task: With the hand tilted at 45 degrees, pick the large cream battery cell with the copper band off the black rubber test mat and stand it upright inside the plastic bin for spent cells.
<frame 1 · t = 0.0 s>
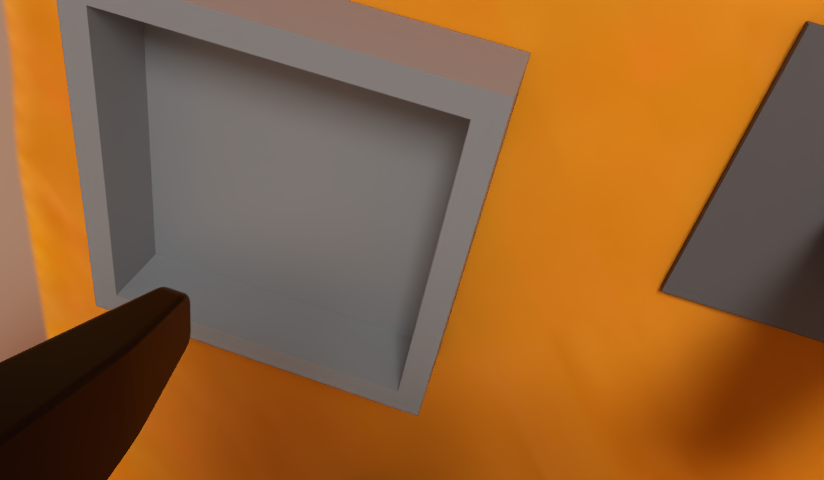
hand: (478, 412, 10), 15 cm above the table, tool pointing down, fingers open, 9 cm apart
bin: (301, 173, 27), on the table
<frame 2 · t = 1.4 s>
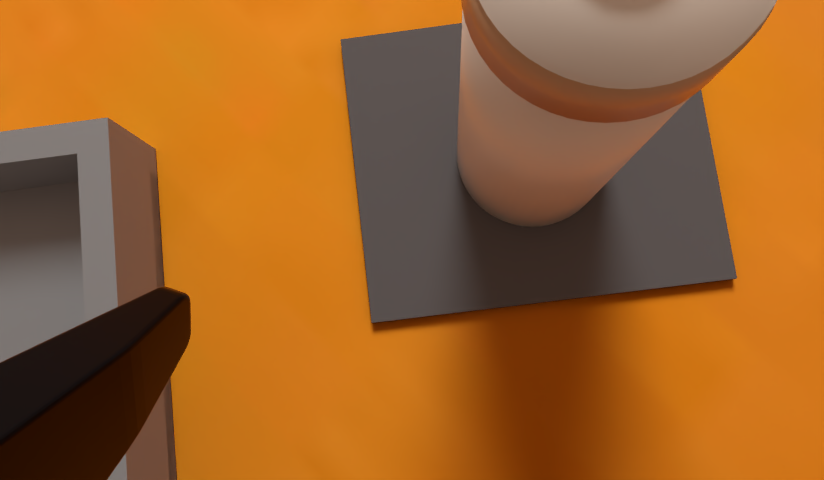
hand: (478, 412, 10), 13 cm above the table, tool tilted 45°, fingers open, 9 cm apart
cell: (530, 154, 24), resting on test mat
test mat: (529, 156, 24), on the table
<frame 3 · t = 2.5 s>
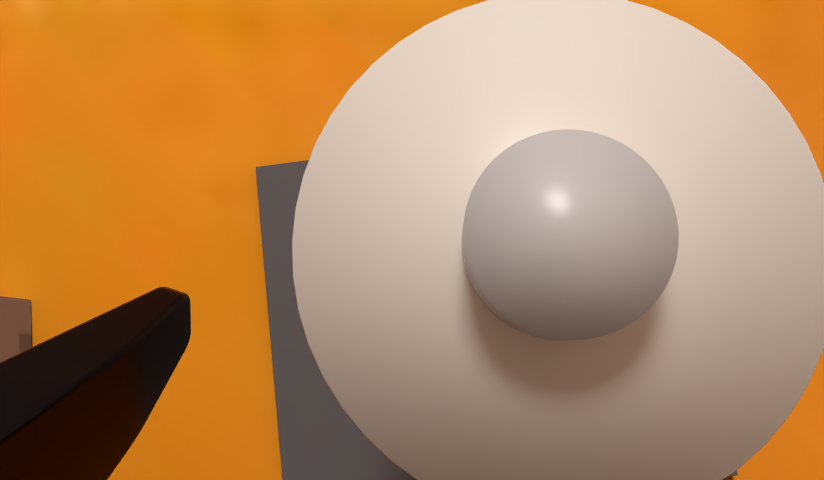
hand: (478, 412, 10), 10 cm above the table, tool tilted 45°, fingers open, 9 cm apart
cell: (484, 313, 19), resting on test mat
test mat: (483, 313, 20), on the table
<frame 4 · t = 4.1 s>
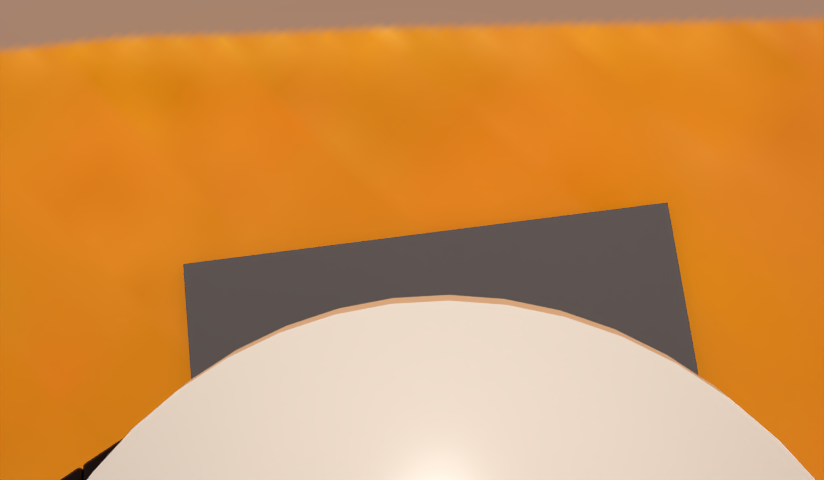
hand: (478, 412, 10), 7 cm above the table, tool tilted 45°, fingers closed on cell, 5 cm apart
cell: (448, 442, 16), resting on test mat, touching gripper
test mat: (448, 440, 17), on the table
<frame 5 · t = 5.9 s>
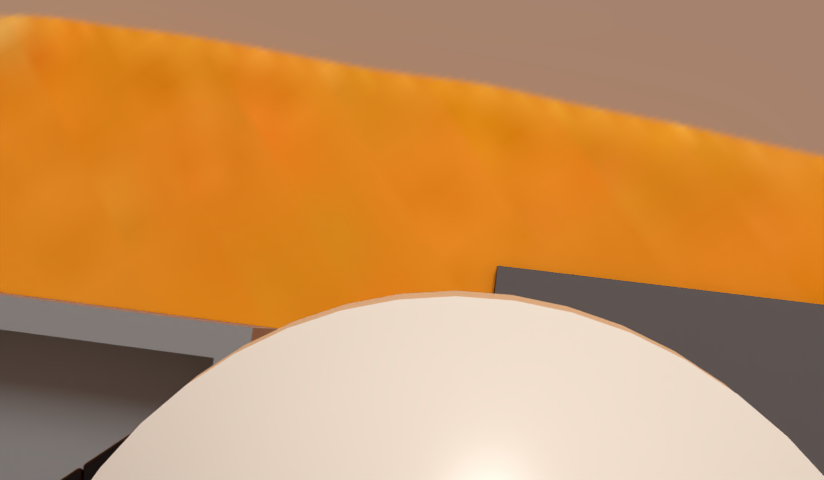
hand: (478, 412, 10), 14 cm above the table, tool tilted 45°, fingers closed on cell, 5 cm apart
cell: (450, 441, 16), point 7 cm above the table, touching gripper
test mat: (665, 442, 23), on the table
when the fingers open (9 cm above the table, at t = 8.2 s): cell drops 1 cm, resting on bin.
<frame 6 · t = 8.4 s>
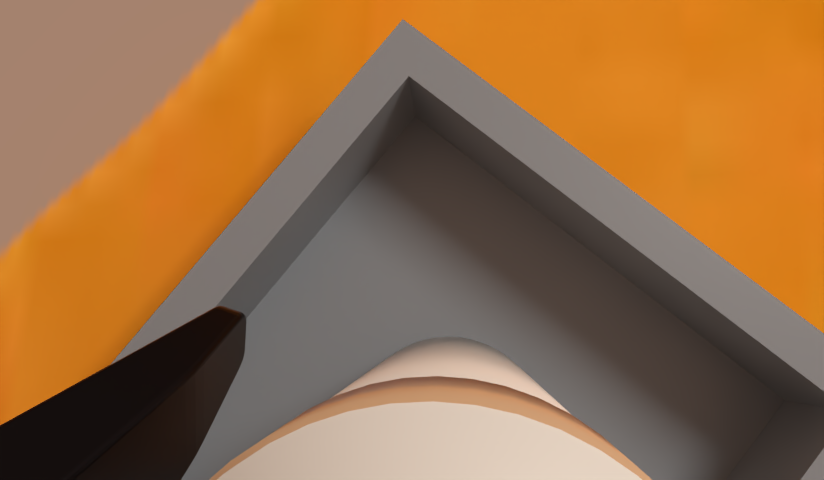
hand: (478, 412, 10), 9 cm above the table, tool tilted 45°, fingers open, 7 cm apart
cell: (448, 435, 18), point 1 cm above the table, touching bin
bin: (448, 430, 18), on the table
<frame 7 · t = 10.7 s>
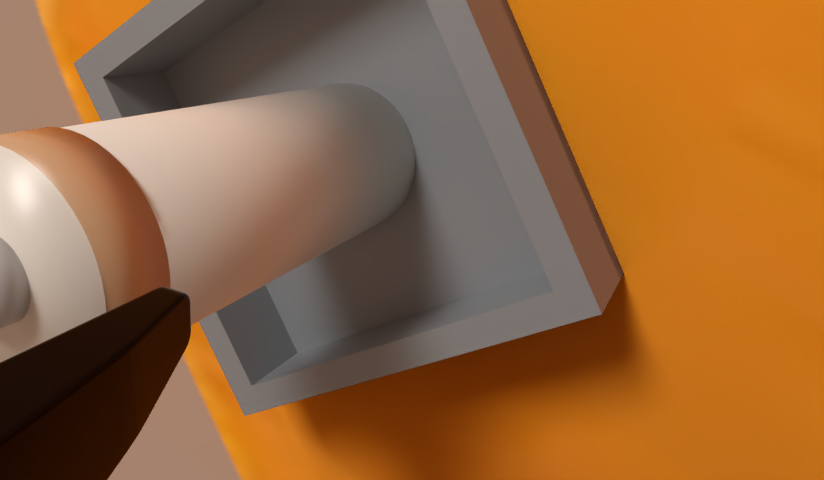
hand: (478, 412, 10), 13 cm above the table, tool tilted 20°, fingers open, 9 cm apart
cell: (350, 156, 24), point 1 cm above the table, touching bin
bin: (357, 153, 25), on the table
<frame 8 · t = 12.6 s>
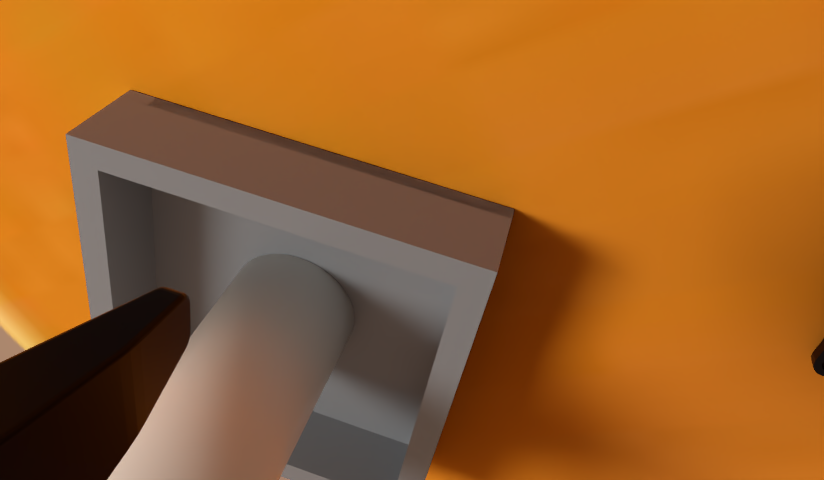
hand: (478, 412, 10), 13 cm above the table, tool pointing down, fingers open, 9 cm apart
cell: (294, 305, 28), point 1 cm above the table, touching bin
bin: (299, 295, 28), on the table
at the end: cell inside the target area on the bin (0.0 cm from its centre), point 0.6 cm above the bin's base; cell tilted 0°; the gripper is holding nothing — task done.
